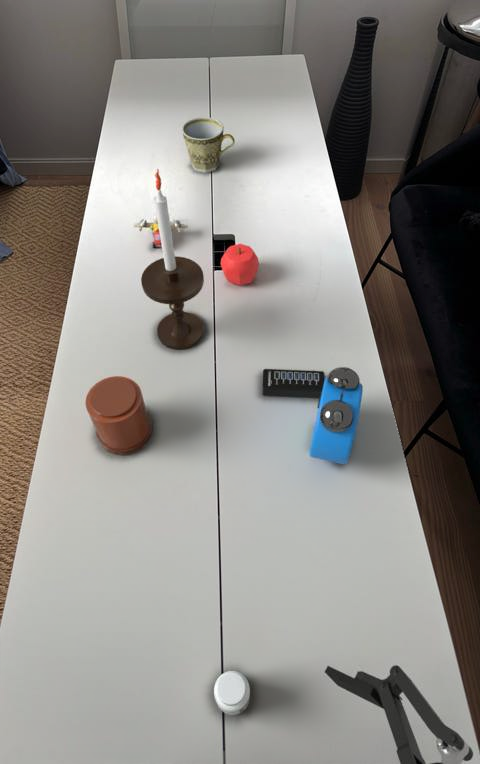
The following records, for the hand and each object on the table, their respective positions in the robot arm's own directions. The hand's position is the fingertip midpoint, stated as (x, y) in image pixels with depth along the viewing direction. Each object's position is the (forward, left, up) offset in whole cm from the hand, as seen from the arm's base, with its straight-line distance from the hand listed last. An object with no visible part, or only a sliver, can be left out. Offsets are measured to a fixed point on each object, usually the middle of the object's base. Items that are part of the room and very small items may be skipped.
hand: (300, 736), depth 57 cm
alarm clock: (+40, +17, -13) cm, 45 cm away
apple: (+64, +52, -13) cm, 83 cm away
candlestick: (+45, +53, -13) cm, 71 cm away
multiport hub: (+46, +28, -13) cm, 55 cm away
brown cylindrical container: (+22, +47, -13) cm, 53 cm away
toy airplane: (+65, +74, -13) cm, 99 cm away
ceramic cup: (+93, +81, -13) cm, 124 cm away
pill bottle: (0, +9, -13) cm, 16 cm away
